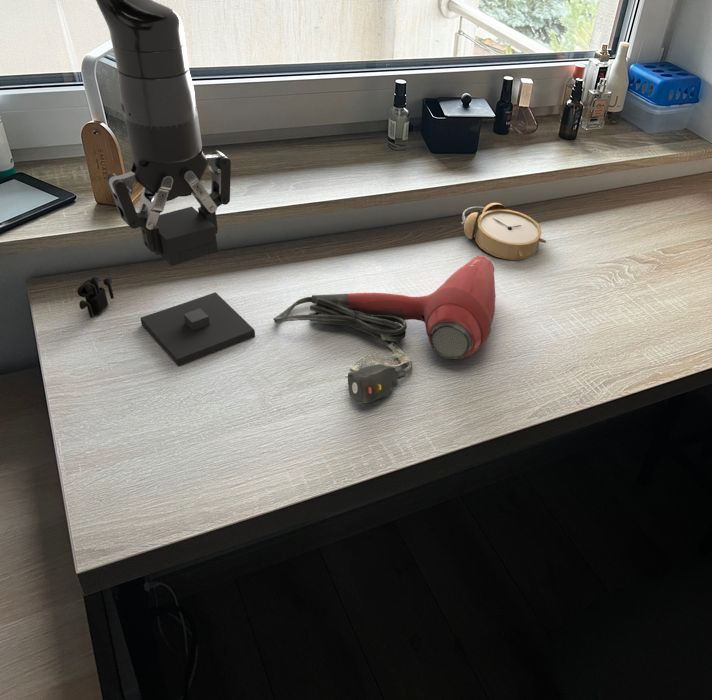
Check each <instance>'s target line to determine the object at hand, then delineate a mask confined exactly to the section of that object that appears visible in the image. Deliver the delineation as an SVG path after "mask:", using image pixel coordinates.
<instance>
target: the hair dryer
mask: <svg viewBox="0 0 712 700" xmlns="http://www.w3.org/2000/svg"><path fill="white" fill-rule="evenodd" d="M495 269H496V268H495V263H494V261H492V260H491V259H490V258H489V257H487V256H485V255H476V256H474V257H473V258H471V259H470V261H468V262H467V263H465V264H464V265H463V266H461V267H459V268H458V269H456V270H455V272H454V273H452V274H451V275H450V276H449V277H448V278H447V279H446V280H445V281H444V283H442V285H440V286H439V287H438V288H437V289H436V290H434V291H433V292H432V293H430V294H427V295H422V296H409V295H403V294H398V293H396V294H395V293H387V292H385V293H384V292H352V293H333V294H312V295H311V296H305V297H302V298H299V299H298V300H296V301H295V302H293V304H291V305H290V306H288V307H287V308H286V309H285V310H284V311H282V312H280V313H279V314H278V315H276V316H274V317H273V318H272V319H273V321H274V323H275V324H280V323H281V324H282V323H286V322H295V321H309V322H312V323H315V324H325V325H338V326H346V327H351V328H353V329H355V330H358V331H362V332H364V333H366V334H369V335H371V336H373V337H374V338H375V339H377V340H379V341H380V342H381V343H383V344H385V346H386V347H388V348H389V349H390V350H391V351H392V353H388V354H384V355H380V354H381V352H375V351H372V352H371V351H370V352H368V353H366V354H365V355H362V356H361V357H360V358H358V359H357V360H356V361H355V362H353V363H352V364H351V365H350V366H349V370H351V371H349V372H348V373H346V374H344V377H345V379H347V383H345V388H347V389H348V393H349V398H351V400H353V401H355V402H356V403H362V404H368V403H372V402H374V401H377V400H379V399H382V398H384V397H386V396H389V395H391V394H392V391H393V388H394V387H397V386H398V383H399V380H400V379H403V378H405V377H407V375H408V374H409V373H410V372H411V371H412V368H413V360H412V359H411V358H410V357H409V356H408V355H407V354H406V353H405V352H404V351H403V350H402V349H401V348H400V347H399V346H398V345H397V344H400V343H401V341H402V340H404V339H405V337H406V336H407V335H406V334H407V331H406V330H407V328H408V326H407V322H406V321H411V320H413V321H415V320H416V321H420V322H423V323H424V325H425V332H426V335H427V338H428V342H429V344H430V346H431V347H432V348H433V350H434V352H436V353H437V354H438V355H439V356H442V357H443V358H446V359H450V360H460V359H465V358H468V357H469V356H471V355H473V354H474V353H476V352H478V350H480V349H481V348H482V347H483V345H484V344H485V343H486V342H487V340H488V339H489V336H490V333H491V331H492V329H491V328H492V324H493V322H494V321H493V320H494V316H495V310H496V297H497V296H496V282H495ZM306 303H311V304H310V305H309V308H308V309H309V311H311V312H310V313H308V314H294V315H293V314H291V312H292V311H293V310H294V309H295V307H297V306H299V305H302V304H306ZM289 314H291V315H289ZM396 343H397V344H396ZM379 355H380V356H379ZM375 356H377V357H375ZM383 357H387V358H383ZM390 359H391V360H390ZM396 359H397V360H396ZM404 364H406V365H407V366H406V367H405V368H401V369H397V368H396V367H400V366H402V365H404Z"/></svg>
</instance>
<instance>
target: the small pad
mask: <svg viewBox="0 0 712 700" xmlns="http://www.w3.org/2000/svg"><path fill="white" fill-rule="evenodd" d="M156 226H157V227H158V228H159V234H160V239H161V245H162V250H163V254H160V255H159V256H161V257H162V258H163V260H165V262H167V263H168V264H169V265H170V266H171V267H173V266H176V265H180V264H181V263H187V262H189V261H193V260H195V259H199V258H202V257H206V256H209V255H213V254H215V253H218V252H219V248H218V241H217V234H216V233H215V226H214V225H212V224H211V223H210V222H209V221H208V220H207V219H205V218H204V217H203V216H202V215H201V214H200V213H199V212H198V210H197V209H196V208H194V206H189V207H188V206H187V207H183V208H180V209H177V210H173V211H169V212H166V213H160V215H159V218H158V221H157V225H156Z"/></svg>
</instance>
